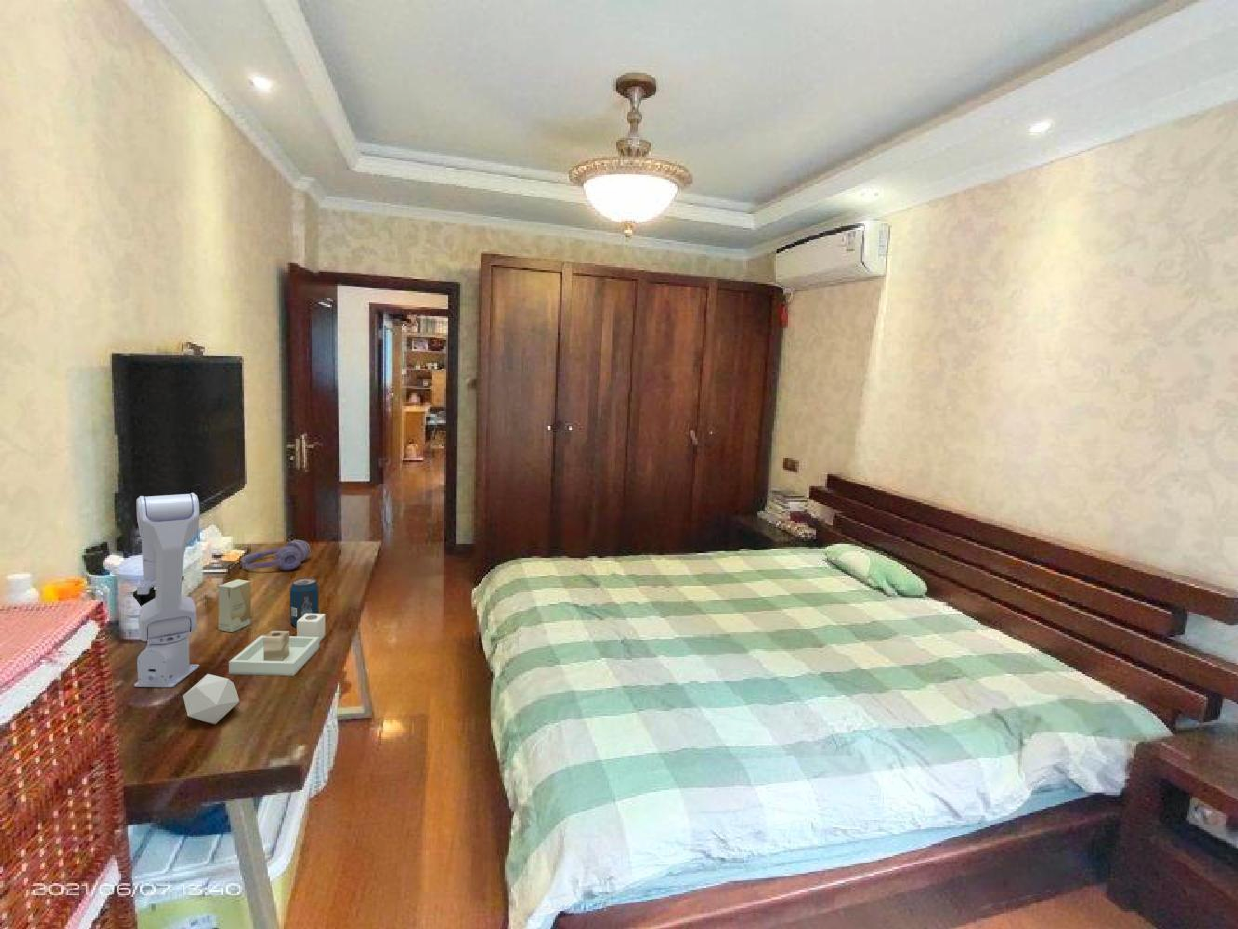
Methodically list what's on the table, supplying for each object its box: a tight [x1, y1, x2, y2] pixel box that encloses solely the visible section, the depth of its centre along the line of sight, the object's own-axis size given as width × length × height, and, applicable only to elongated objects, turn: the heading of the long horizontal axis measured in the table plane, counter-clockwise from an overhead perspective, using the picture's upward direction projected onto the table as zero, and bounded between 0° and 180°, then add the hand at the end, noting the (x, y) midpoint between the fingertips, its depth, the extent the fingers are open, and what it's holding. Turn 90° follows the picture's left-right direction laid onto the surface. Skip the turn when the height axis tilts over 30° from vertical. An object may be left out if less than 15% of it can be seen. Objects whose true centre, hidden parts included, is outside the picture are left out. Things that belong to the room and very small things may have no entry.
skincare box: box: [218, 578, 251, 633], centre depth 157 cm, size 6×4×12 cm
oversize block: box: [296, 613, 326, 643], centre depth 153 cm, size 5×5×6 cm
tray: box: [228, 634, 320, 677], centre depth 141 cm, size 14×14×3 cm
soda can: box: [289, 577, 320, 628], centre depth 162 cm, size 7×7×12 cm
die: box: [182, 673, 240, 725], centre depth 117 cm, size 8×9×10 cm
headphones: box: [240, 539, 312, 571], centre depth 206 cm, size 18×8×20 cm
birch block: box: [263, 630, 290, 661], centre depth 141 cm, size 4×4×6 cm
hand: (160, 612), depth 142 cm, fingers open, 7 cm apart
